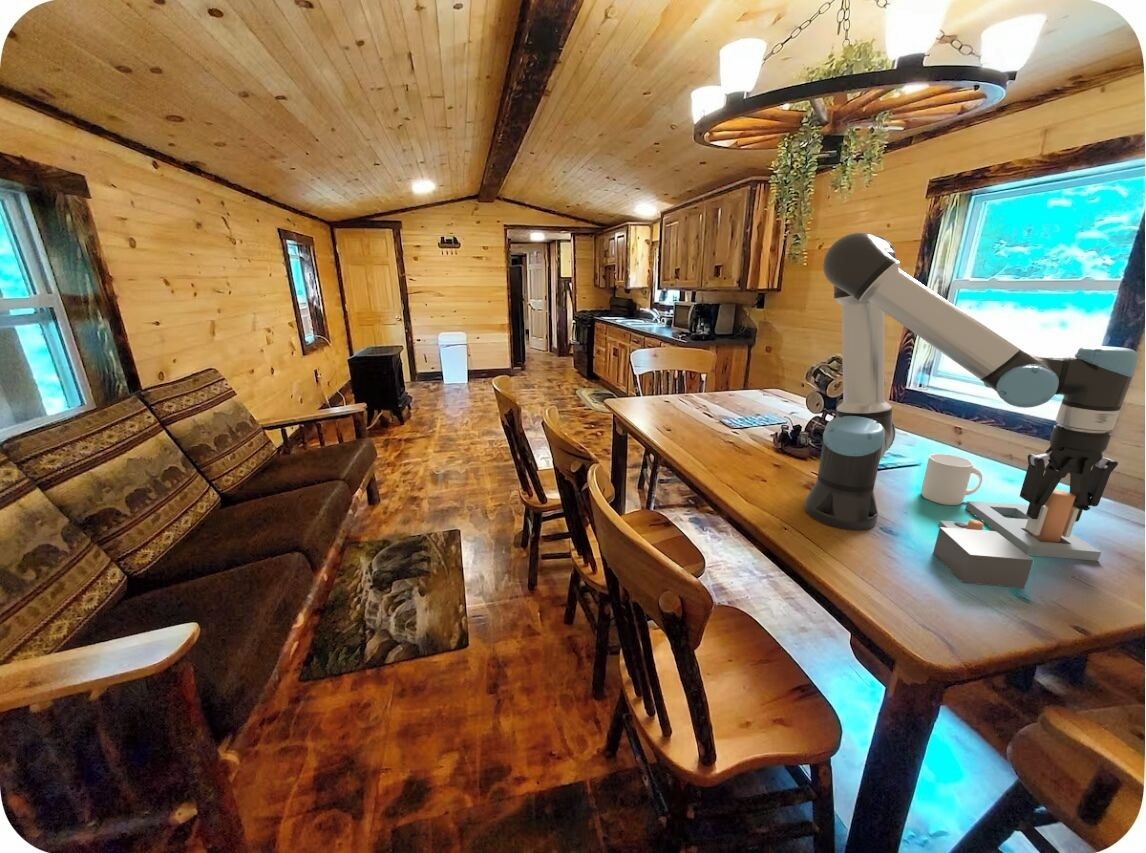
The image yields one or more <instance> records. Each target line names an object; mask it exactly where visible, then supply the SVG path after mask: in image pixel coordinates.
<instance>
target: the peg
mask: <svg viewBox="0 0 1146 853" xmlns="http://www.w3.org/2000/svg"><path fill="white" fill-rule="evenodd" d="M1075 497H1076V496H1075V495H1074V494H1072V493H1070V491H1066V490H1062V489H1056V488H1055V489H1054V491H1053V492H1052V494H1051V495H1050V497H1049V498H1048V500H1047V502H1046V503H1045V506H1047V507H1049V508H1048V511H1047V514H1046V516H1045V519H1044V522H1043V525H1042V528H1041V531H1040V534H1039V535H1034V534H1032V537H1034V538H1035V539H1037V540H1038V541H1039V542H1049V543H1059V542H1060V539H1061V537H1062V534H1063V531H1064V528H1065V525H1066V522H1067V520H1068V517H1069V514H1070V511H1071V508H1072V506H1073V503H1074V500H1075Z"/></svg>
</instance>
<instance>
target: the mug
mask: <svg viewBox="0 0 1146 853" xmlns="http://www.w3.org/2000/svg"><path fill="white" fill-rule="evenodd" d="M925 467H926V468H925V472H924V476H923V480H922V485H921V487H920V488H921V489H920V493H921V496H922V497H923V498H925V499H926V500H928V501H931V502H932V503H933V502H934V503H936V504H938V505H939V504H940V505H944V506H958V505H960V504H962V503H963V502H964V500H965V497H966V496H969V495H973V494H974V493H976V492H977V491H978V490H979V488H980V487H981V485H982V482H983V474H982V473H981V471H980V470H979V469H977V468H976V467H974V463H973V461H971V460H969V459H967V458H964V457H961V456H957V455H953V454H946V453H945V454H944V453H933V454H929V456H928V460H927V463H926V466H925ZM971 474H974V475H976V476H977V477H978V479H979V480H978V481H979V482H978V484H977V486H975V487H974V488H971V489H969V488H968V484H969V481H970V478H971Z"/></svg>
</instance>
